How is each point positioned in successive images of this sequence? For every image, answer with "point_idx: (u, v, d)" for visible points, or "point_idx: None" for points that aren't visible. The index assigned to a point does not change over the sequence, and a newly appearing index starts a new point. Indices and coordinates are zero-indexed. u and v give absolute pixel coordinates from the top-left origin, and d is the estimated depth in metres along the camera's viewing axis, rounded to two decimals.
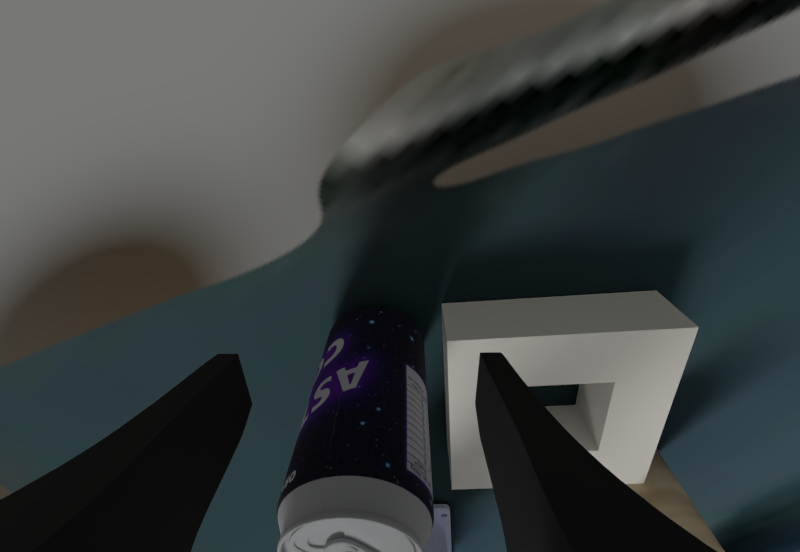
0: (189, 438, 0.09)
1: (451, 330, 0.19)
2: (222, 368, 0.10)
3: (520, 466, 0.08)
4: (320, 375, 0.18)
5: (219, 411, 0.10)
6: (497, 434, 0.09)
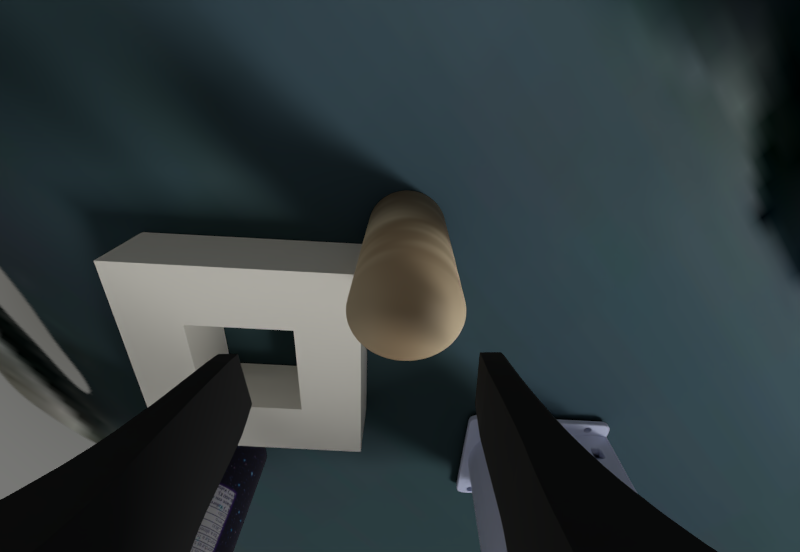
0: (189, 438, 0.09)
1: None
2: (222, 368, 0.10)
3: (520, 466, 0.08)
4: None
5: (219, 411, 0.10)
6: (497, 434, 0.09)
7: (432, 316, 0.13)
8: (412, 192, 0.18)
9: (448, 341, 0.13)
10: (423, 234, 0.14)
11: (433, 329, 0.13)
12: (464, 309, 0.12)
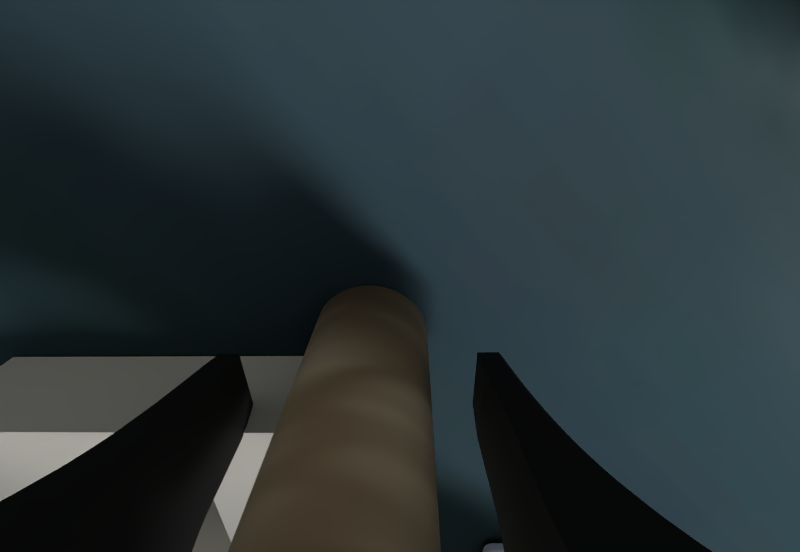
0: (191, 438, 0.09)
1: None
2: (223, 368, 0.10)
3: (516, 466, 0.08)
4: None
5: (220, 411, 0.10)
6: (494, 434, 0.09)
7: None
8: (372, 290, 0.13)
9: None
10: (367, 421, 0.08)
11: None
12: None
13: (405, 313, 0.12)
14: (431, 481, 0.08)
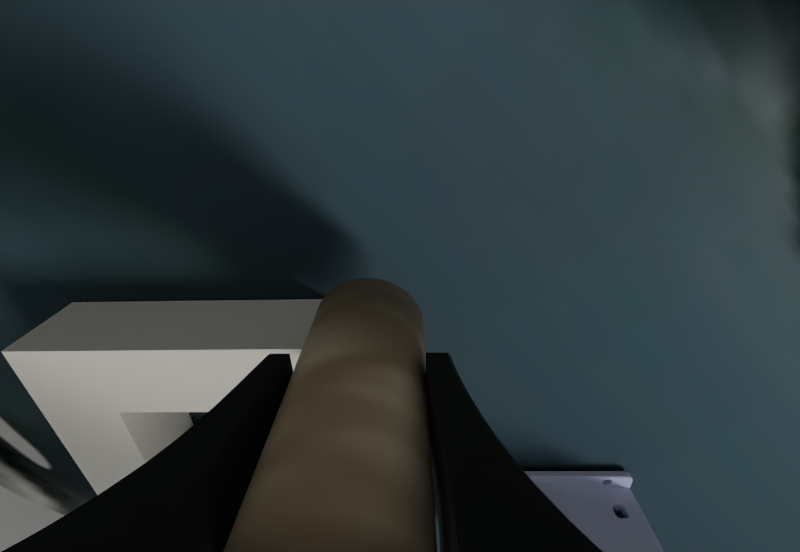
0: (253, 438, 0.09)
1: None
2: (278, 368, 0.10)
3: (443, 466, 0.08)
4: None
5: (276, 411, 0.10)
6: (434, 434, 0.09)
7: None
8: (368, 282, 0.13)
9: None
10: (363, 404, 0.08)
11: None
12: None
13: (401, 304, 0.12)
14: (425, 459, 0.08)
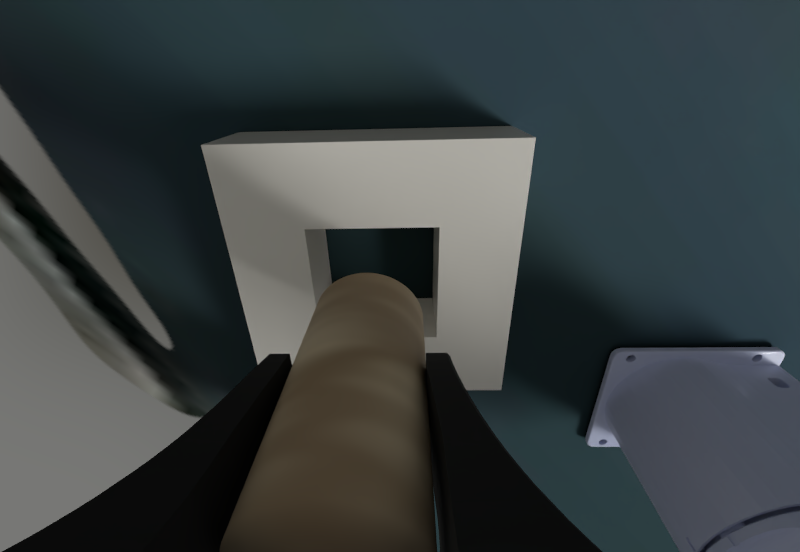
0: (254, 438, 0.09)
1: None
2: (278, 368, 0.10)
3: (443, 466, 0.08)
4: None
5: None
6: (433, 434, 0.09)
7: None
8: (372, 277, 0.13)
9: None
10: (367, 397, 0.08)
11: None
12: None
13: (403, 300, 0.12)
14: (427, 456, 0.08)
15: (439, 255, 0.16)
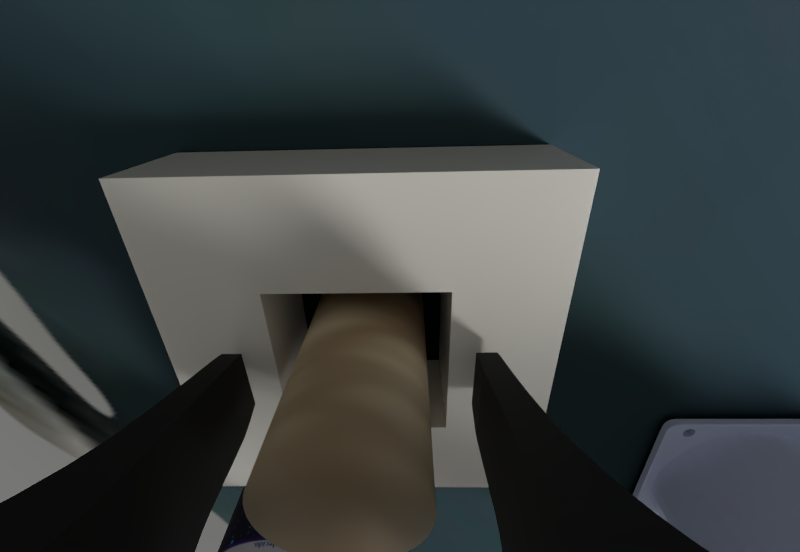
0: (193, 438, 0.09)
1: None
2: (226, 368, 0.10)
3: (515, 466, 0.08)
4: None
5: (223, 411, 0.10)
6: (493, 434, 0.09)
7: (382, 515, 0.08)
8: None
9: (412, 543, 0.08)
10: (372, 366, 0.09)
11: (386, 531, 0.08)
12: (433, 507, 0.08)
13: None
14: (427, 420, 0.09)
15: (451, 328, 0.11)
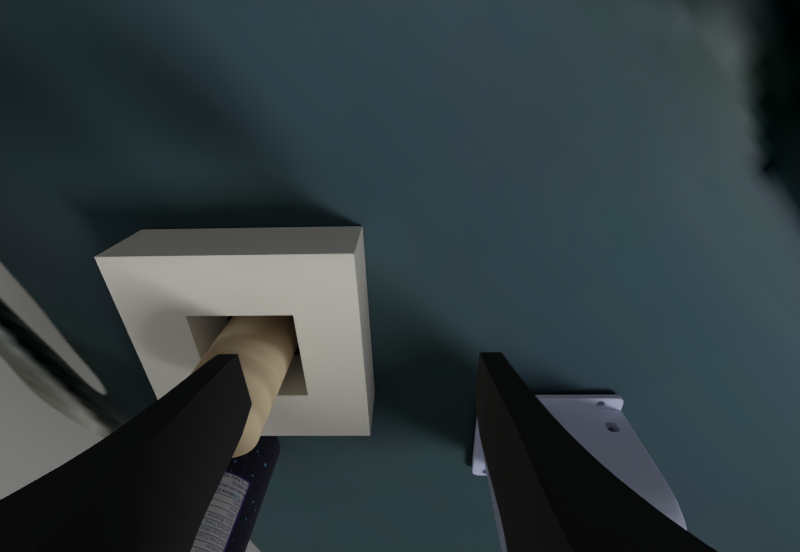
0: (189, 438, 0.09)
1: None
2: (222, 368, 0.10)
3: (520, 466, 0.08)
4: None
5: (219, 411, 0.10)
6: (497, 434, 0.09)
7: None
8: None
9: (252, 444, 0.17)
10: None
11: None
12: (255, 423, 0.16)
13: None
14: (267, 384, 0.17)
15: (297, 335, 0.19)
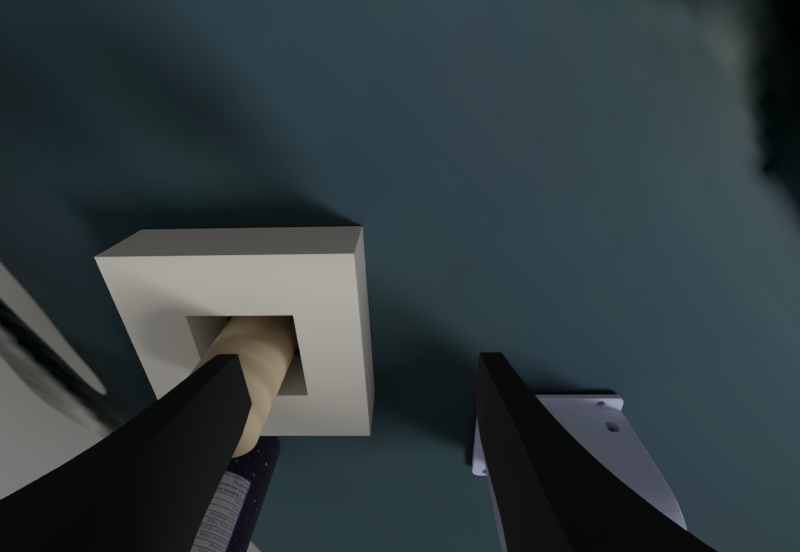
0: (189, 438, 0.09)
1: None
2: (222, 368, 0.10)
3: (520, 466, 0.08)
4: None
5: (219, 411, 0.10)
6: (497, 434, 0.09)
7: None
8: None
9: (251, 445, 0.17)
10: None
11: None
12: (255, 423, 0.16)
13: None
14: (266, 384, 0.17)
15: (297, 335, 0.19)
